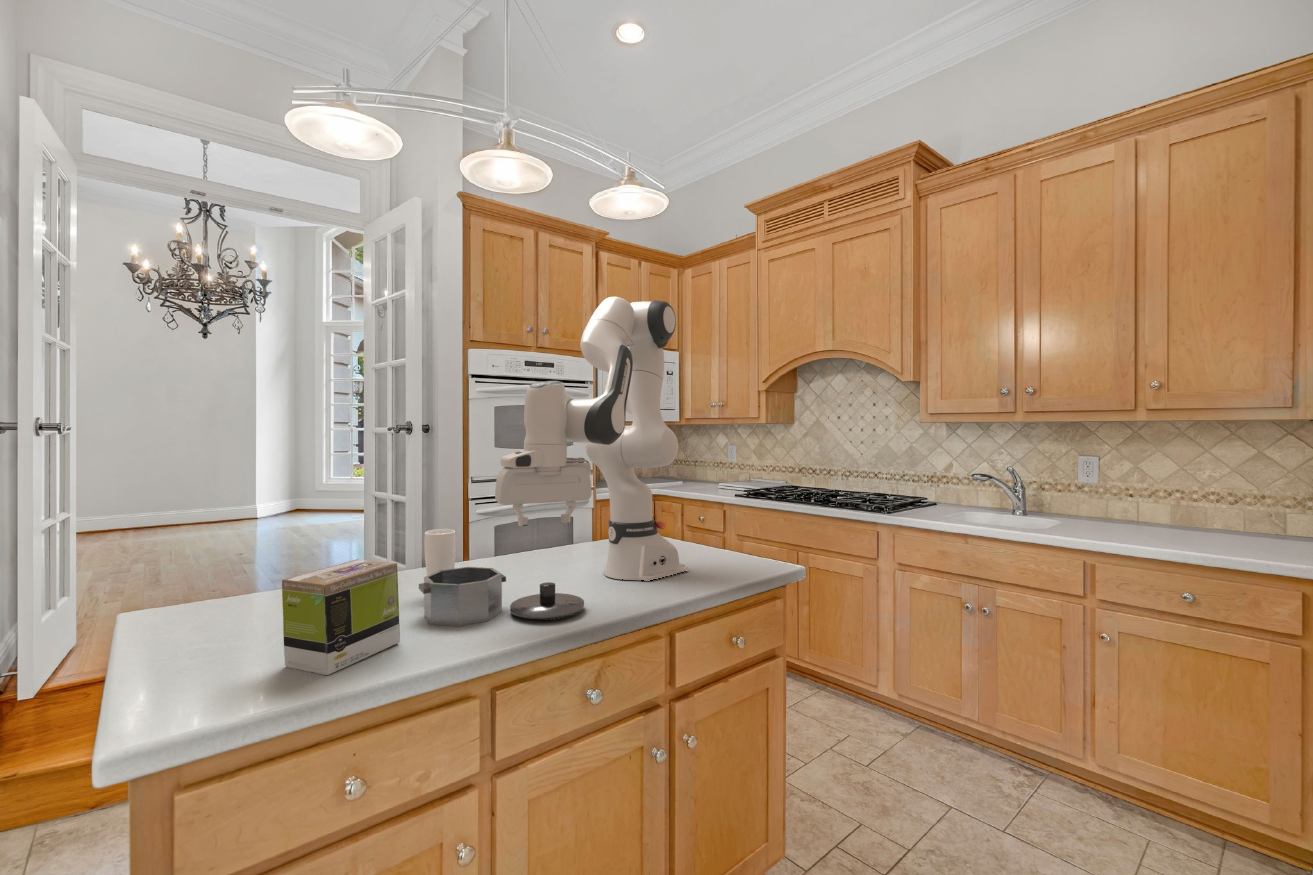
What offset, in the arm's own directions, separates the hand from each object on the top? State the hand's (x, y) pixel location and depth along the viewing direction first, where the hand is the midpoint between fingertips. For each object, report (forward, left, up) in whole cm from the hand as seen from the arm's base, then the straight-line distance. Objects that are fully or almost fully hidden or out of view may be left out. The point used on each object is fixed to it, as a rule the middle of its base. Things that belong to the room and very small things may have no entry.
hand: (544, 524), depth 123 cm
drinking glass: (+16, -23, -19) cm, 34 cm away
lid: (0, 0, -19) cm, 19 cm away
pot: (+15, -8, -18) cm, 25 cm away
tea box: (+38, +3, -19) cm, 42 cm away
